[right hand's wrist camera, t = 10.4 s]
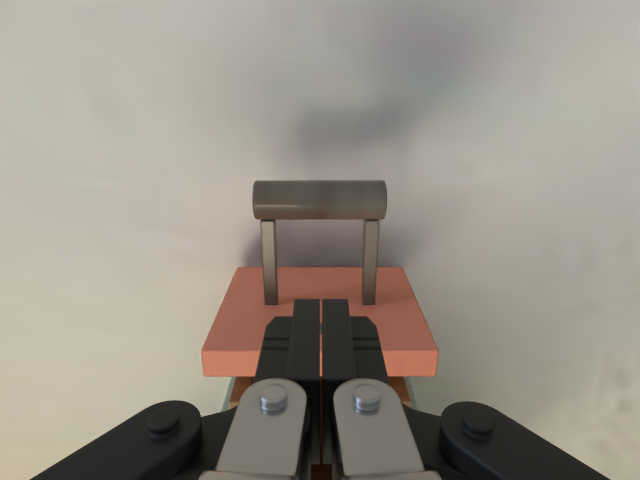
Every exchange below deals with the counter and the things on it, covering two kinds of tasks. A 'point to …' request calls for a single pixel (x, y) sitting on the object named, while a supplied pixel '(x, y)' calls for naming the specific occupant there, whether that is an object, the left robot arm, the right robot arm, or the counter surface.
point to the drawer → (319, 291)
